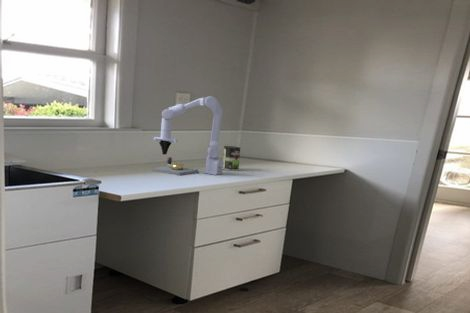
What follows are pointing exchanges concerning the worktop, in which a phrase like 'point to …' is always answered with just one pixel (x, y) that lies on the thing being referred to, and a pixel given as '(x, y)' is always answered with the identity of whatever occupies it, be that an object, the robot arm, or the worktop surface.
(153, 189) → the worktop surface
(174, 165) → the spiked mace toy
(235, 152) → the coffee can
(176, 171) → the grey board
